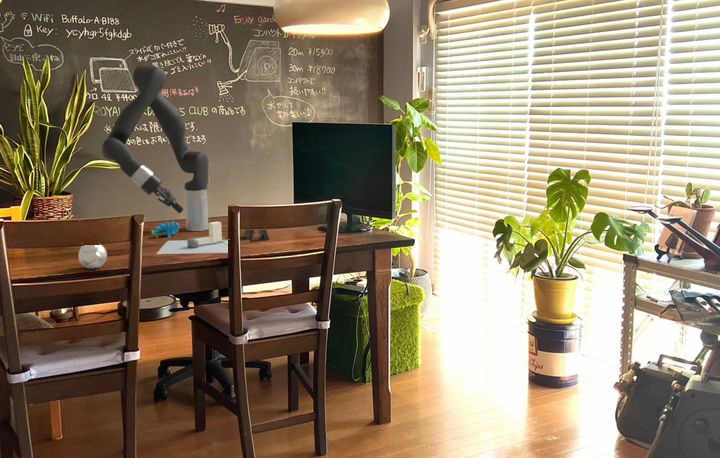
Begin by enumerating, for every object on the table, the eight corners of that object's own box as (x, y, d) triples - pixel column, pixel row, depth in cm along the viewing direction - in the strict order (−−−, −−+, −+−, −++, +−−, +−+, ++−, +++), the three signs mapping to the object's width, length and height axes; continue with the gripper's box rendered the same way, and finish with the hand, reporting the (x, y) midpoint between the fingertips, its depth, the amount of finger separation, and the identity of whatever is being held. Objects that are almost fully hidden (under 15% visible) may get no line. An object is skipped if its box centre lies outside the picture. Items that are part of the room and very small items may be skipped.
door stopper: (247, 242, 280) (246, 211, 278) (242, 239, 285) (241, 209, 283) (269, 240, 284) (268, 210, 282) (264, 237, 289) (263, 208, 287)
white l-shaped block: (191, 248, 261) (190, 227, 260) (185, 246, 264) (184, 226, 262) (227, 242, 272) (227, 221, 271) (221, 240, 275) (221, 220, 274)
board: (168, 243, 277) (167, 239, 277) (236, 242, 279) (235, 238, 279) (156, 257, 253) (155, 253, 252) (230, 256, 255) (230, 251, 255)
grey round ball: (71, 270, 233) (69, 240, 232) (93, 264, 242) (91, 235, 240) (93, 273, 230) (91, 242, 228) (114, 267, 238) (112, 237, 237)
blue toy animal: (179, 232, 291) (178, 217, 283) (182, 243, 288) (182, 229, 280) (151, 237, 287) (150, 223, 279) (154, 249, 284) (154, 235, 276)
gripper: (149, 174, 260) (186, 207, 263) (156, 170, 273) (190, 201, 276) (136, 189, 260) (172, 221, 264) (143, 184, 273) (177, 215, 277)
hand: (181, 211), depth 270 cm, fingers closed
